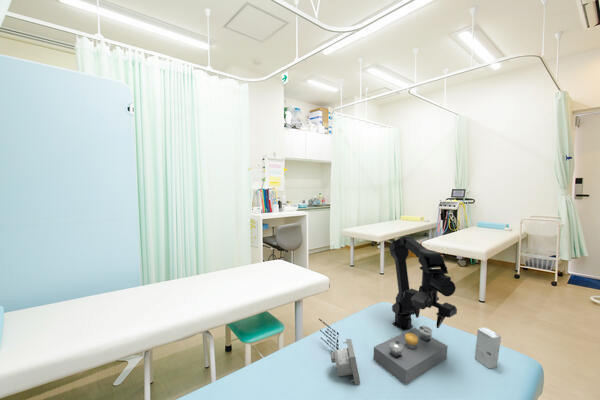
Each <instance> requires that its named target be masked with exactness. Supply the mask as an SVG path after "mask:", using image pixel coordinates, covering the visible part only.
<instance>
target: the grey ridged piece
mask: <svg viewBox="0 0 600 400" xmlns="http://www.w3.org/2000/svg"><path fill="white" fill-rule="evenodd" d="M318 320H319V321H320V322H321V323H322V324H323V325H324V326H326V327H327V328H326V330H325V331H324V332H323V331H322V330H321V329H319V332H321V333H322V334H323V335H324V336H325V337H326V338H327V339H326V341H325V339H324V338H323V337H320V339H321V340H322V341H323V342H325V343H326V345H327V346H329V347H330V351H331V352H330V353H329V354H330V361H331V363H332V364H334V363H335V366H336V372H337V376H338V377H343V376H345V377H346V376H350V375H353V379H351V380H350V382H354V385H355V386H356V385H360V384H361V379H360V374H359V370H358V369H359V368H358V364H357V359H356V355H355V351H354V350H355V349H354V347H353V346H354V345H353V341H352V339H351V338H345V340H346V341H343V342H342V344H346V345H347V348H346V347H345V348H340V347H339V339H338V338H339V335H340V333H339V332H338V331H337V332H336V330H335V329H333V328H332V327H331V326H329V324H327V323H326V322H325V321H323V319H320V318H318ZM329 329H330V330H329ZM331 330H332V331H331ZM335 333H336V334H335ZM328 335H329V336H330V337H329V336H328ZM336 336H337V337H336ZM331 338H332V339H331ZM334 340H336V341H334ZM332 342H333V343H334V344H333V343H332ZM330 344H331V345H330ZM332 346H333V347H332ZM334 348H335V349H334ZM339 348H340V349H339Z"/></svg>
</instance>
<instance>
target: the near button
mask: <svg viewBox="0 0 600 400" xmlns="http://www.w3.org/2000/svg"><path fill="white" fill-rule="evenodd" d="M389 349H390V350H391V355H392V356H393V357H395V358H396V359H397V358H399V357H400V356H401V353H402V349H403V345H402V343H401V342H399V341H396V340H392V341H390V345H389Z"/></svg>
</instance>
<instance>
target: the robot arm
mask: <svg viewBox="0 0 600 400" xmlns="http://www.w3.org/2000/svg"><path fill="white" fill-rule="evenodd" d="M388 250H389V252H390V255H391V257H392V258H393V259H394V263H395V271H396V279H397V281H396V282H397V289H398V293H397V295H396V297H395V303H394V304H393V305H392V306H391V309H392V312H393V313H394V321H393V322H392V325H394V326H395V327H398V328H399V329H401V330H402V331H408V330H410V329H412V327H413V325H412V320H413V319H412V315H413V316H415V318H417V319H418V318H419V317H420V311H421V310H425V309H426V308H428V309H431V308H432V307H434V308H437V312H436V316H437V317H436V328H437V329H439V328H440V326H441V325H442V323H444V320H445V319H446V318H451V317H454V316H455V315H457V313H458V308H457V307H456V305H453V304H451V303H448V302H444V303H439V302H438V301H439V300H440V297H439V296H438V293H439V294H441V295H442V296H444V297H451V296H452V295H454V293H455V291H456V288H457V287H456V285H455V283H454V281H452V277H451V276H449V275H448V274H449V272H448V267H447V265H446V262H445V260H444V258H443V256H442V254H441V253H440V252H438V251H435V250H431V249H428V248H426V246H424V245H422V244H421V243H420V242H418V241H416V240H415V239H414V237H413V236H411V235H410V236H407V235H406V236H405V235H404V236H401V237H399V238H397V239H396V240H393V241H391V242H390V243H389V244H388ZM409 252H410V253H412V254H414V255H415V256H416V257H417V258H418V259H417V260H418V263H419V264H420V265H421V266H420V267H419V269H420V270H421V271H422V273H421V275H422V276H421V285H419V288H418V290H416V289H414V288H410V281H409V273H408V267H407V259H408V256H409ZM413 328H414V327H413Z"/></svg>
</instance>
